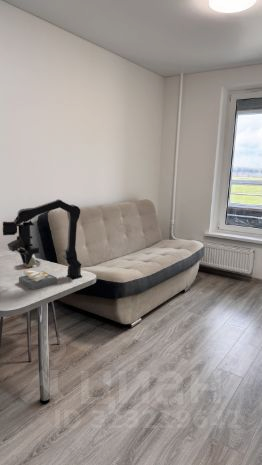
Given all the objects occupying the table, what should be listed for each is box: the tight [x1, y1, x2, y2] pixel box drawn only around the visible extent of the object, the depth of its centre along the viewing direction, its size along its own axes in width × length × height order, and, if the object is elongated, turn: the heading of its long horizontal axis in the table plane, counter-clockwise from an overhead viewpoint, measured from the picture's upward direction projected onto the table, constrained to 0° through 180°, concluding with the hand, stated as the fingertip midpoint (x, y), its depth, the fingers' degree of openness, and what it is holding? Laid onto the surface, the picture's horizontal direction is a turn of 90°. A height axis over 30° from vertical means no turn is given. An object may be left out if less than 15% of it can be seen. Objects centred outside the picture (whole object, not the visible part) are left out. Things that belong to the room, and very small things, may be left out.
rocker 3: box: [32, 274, 45, 282], centre depth 162 cm, size 5×3×2 cm, turn 136°
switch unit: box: [18, 270, 58, 291], centre depth 167 cm, size 14×14×3 cm
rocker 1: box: [23, 270, 36, 276], centre depth 168 cm, size 5×3×2 cm, turn 136°
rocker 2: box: [28, 271, 40, 279], centre depth 165 cm, size 5×3×2 cm, turn 136°
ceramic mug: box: [22, 254, 42, 268], centre depth 194 cm, size 11×8×8 cm
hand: (25, 263), depth 165 cm, fingers open, 3 cm apart
